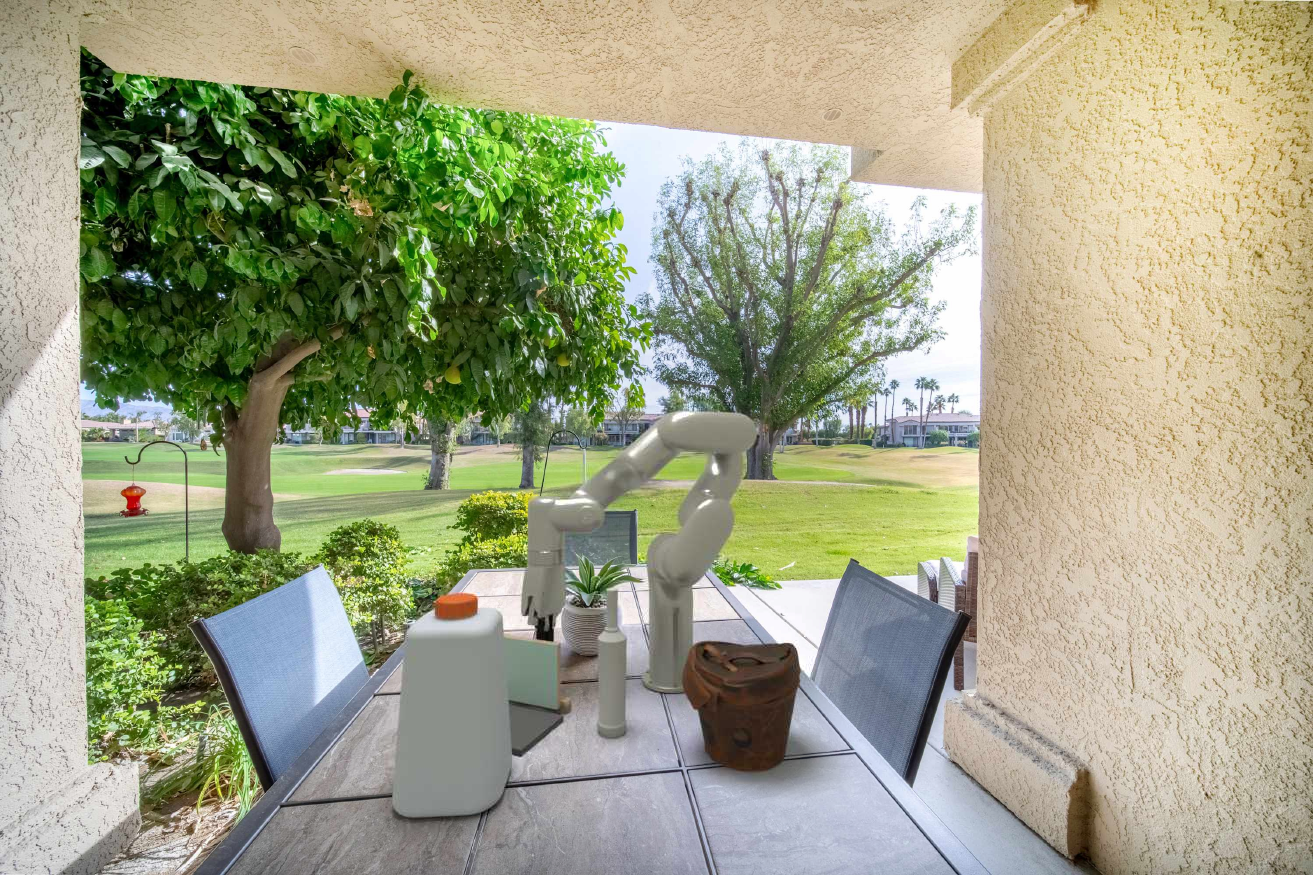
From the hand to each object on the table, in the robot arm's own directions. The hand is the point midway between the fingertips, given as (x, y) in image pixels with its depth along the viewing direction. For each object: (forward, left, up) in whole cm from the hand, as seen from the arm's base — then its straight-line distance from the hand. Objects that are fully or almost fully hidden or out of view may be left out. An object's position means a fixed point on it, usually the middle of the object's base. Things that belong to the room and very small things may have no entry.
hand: (544, 648), depth 116 cm
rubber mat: (0, +14, -10) cm, 17 cm away
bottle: (-19, +8, -10) cm, 23 cm away
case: (-42, +6, -10) cm, 44 cm away
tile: (0, +7, -9) cm, 11 cm away
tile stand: (0, +4, -10) cm, 11 cm away
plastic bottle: (-5, +32, -10) cm, 34 cm away
